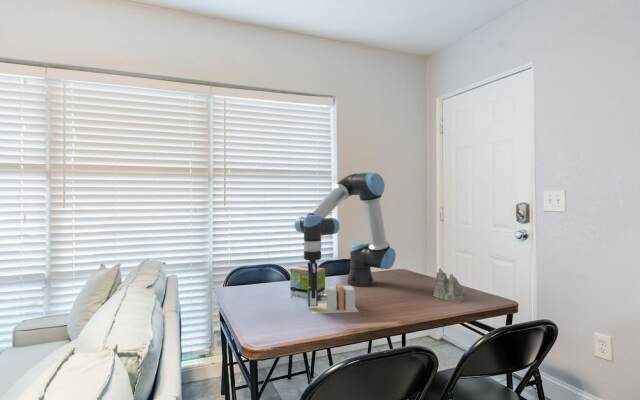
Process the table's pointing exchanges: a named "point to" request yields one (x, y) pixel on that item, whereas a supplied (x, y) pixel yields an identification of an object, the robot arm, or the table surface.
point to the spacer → (340, 296)
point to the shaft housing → (331, 302)
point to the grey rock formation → (447, 287)
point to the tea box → (305, 281)
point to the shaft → (319, 297)
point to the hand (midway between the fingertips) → (312, 303)
